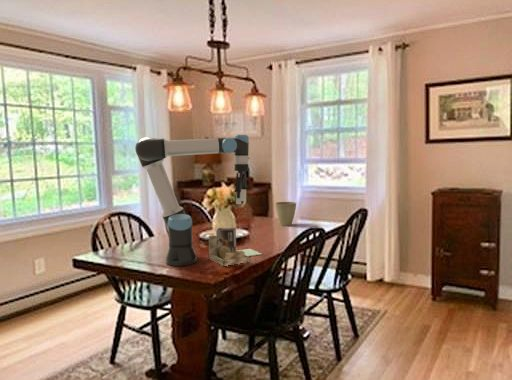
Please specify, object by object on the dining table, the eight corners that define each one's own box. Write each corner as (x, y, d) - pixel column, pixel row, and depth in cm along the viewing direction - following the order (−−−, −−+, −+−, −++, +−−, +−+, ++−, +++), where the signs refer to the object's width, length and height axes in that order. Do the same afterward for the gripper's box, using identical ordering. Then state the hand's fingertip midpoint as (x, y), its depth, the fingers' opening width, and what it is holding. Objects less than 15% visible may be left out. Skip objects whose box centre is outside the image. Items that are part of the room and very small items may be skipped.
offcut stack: (225, 266, 212) (225, 255, 212) (222, 264, 215) (222, 253, 215) (245, 262, 218) (245, 251, 217) (242, 261, 221) (241, 250, 220)
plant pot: (300, 224, 317) (299, 202, 315) (290, 227, 304) (290, 204, 303) (281, 222, 325) (281, 201, 323) (271, 225, 312) (271, 203, 310)
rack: (223, 267, 211) (222, 242, 209) (209, 259, 225) (208, 236, 224) (249, 262, 217) (248, 238, 216) (233, 255, 232) (233, 232, 231)
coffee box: (237, 258, 226) (236, 227, 224) (234, 261, 219) (234, 230, 218) (219, 258, 227) (218, 227, 225) (216, 261, 221) (215, 230, 219)
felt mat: (241, 257, 227) (241, 256, 227) (230, 252, 238) (230, 251, 238) (261, 254, 232) (261, 253, 232) (249, 249, 244) (249, 248, 244)
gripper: (243, 164, 224) (243, 205, 226) (252, 162, 249) (251, 200, 251) (229, 164, 225) (229, 205, 228) (239, 162, 250) (239, 199, 252)
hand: (241, 202), depth 239 cm, fingers open, 13 cm apart
